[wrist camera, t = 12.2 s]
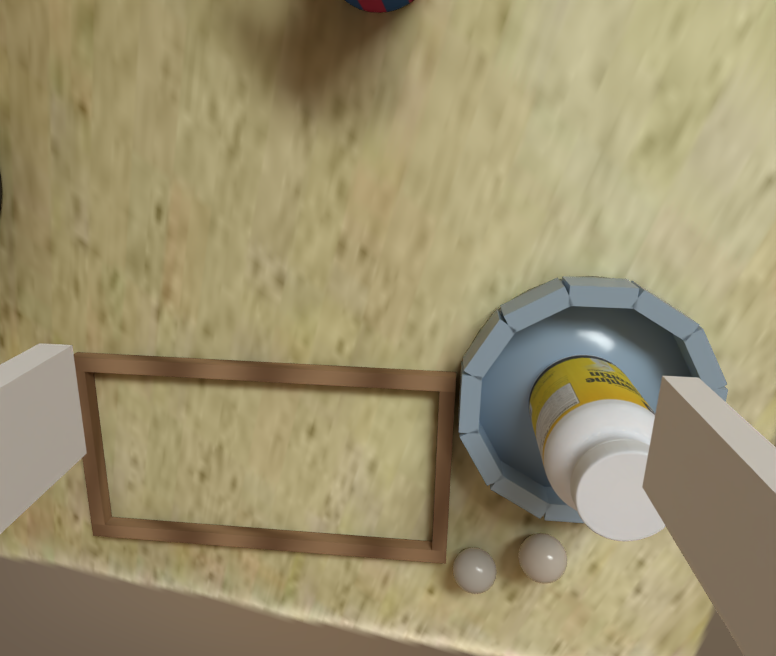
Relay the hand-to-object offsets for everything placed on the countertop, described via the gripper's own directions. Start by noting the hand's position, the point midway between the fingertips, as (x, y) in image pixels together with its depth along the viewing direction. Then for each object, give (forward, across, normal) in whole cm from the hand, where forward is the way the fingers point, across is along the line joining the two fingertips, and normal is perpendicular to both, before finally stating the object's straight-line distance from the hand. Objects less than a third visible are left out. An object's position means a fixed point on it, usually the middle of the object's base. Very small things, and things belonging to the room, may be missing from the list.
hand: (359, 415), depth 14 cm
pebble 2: (+25, +10, -21) cm, 34 cm away
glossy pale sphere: (+25, +6, -23) cm, 34 cm away
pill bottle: (+24, +12, -10) cm, 28 cm away
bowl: (+25, +12, -10) cm, 29 cm away
